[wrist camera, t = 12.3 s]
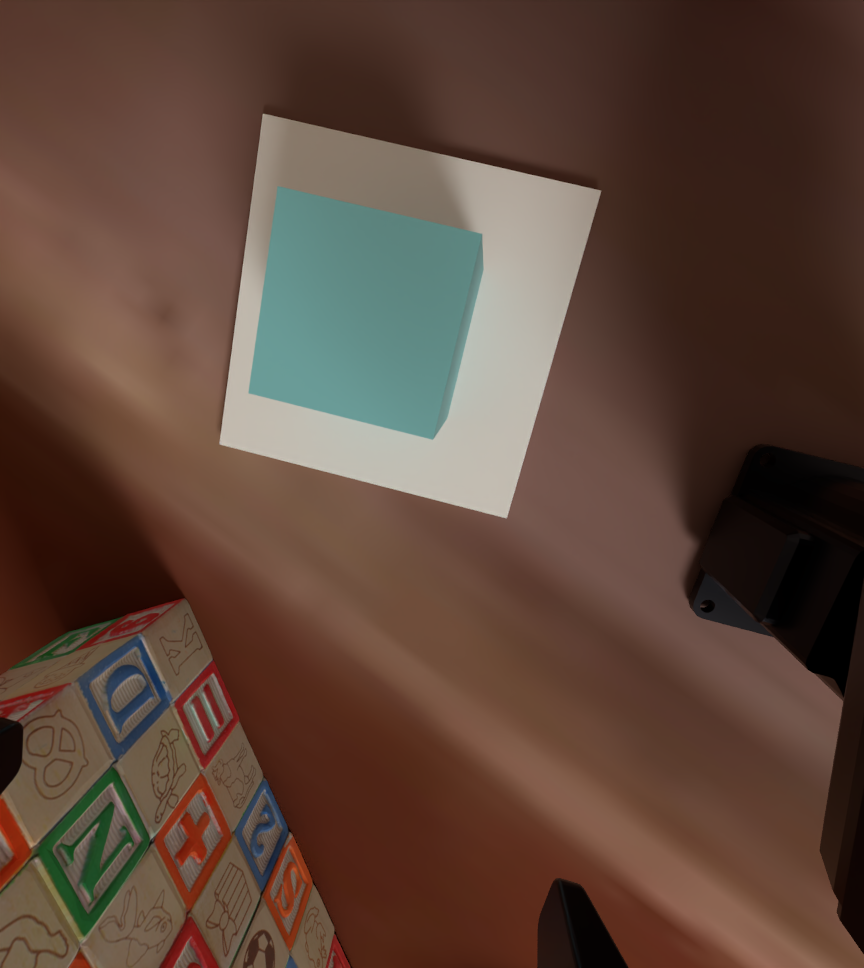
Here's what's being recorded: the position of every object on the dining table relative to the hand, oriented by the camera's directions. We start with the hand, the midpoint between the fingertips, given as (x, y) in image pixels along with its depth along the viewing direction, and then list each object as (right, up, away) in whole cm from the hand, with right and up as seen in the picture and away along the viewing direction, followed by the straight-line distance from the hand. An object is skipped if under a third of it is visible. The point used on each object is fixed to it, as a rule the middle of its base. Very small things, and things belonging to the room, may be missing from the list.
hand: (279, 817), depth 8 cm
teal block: (+1, +11, +9) cm, 14 cm away
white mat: (+1, +11, +10) cm, 15 cm away
